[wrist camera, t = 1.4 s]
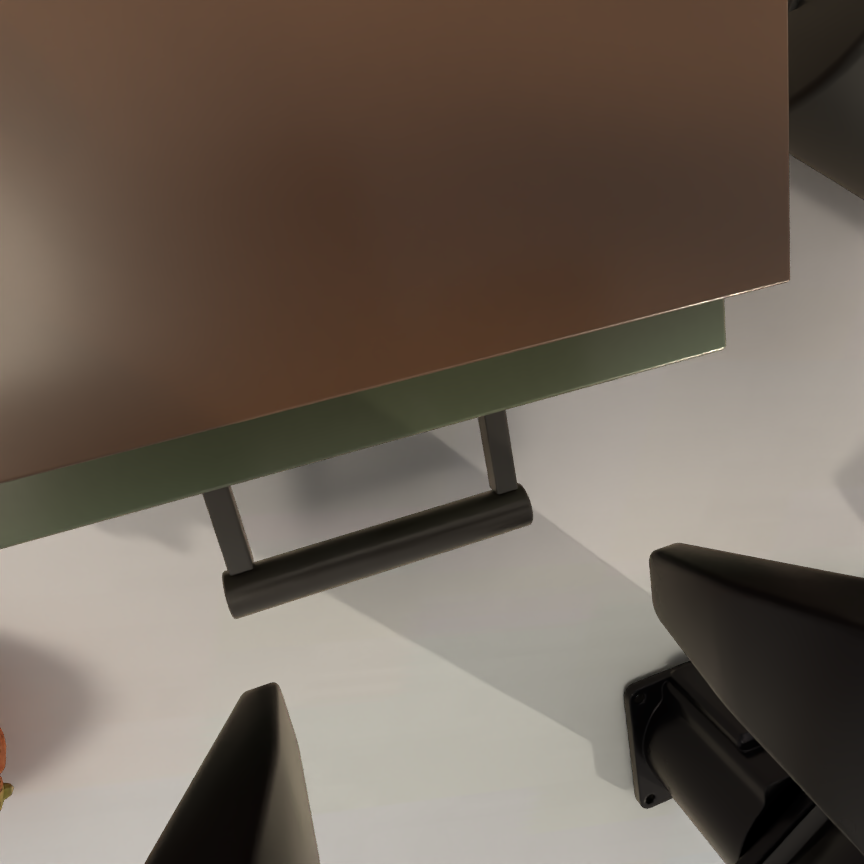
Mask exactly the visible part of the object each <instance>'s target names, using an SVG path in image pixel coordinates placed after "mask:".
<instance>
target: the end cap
mask: <svg viewBox="0 0 864 864" xmlns="http://www.w3.org/2000/svg"><path fill="white" fill-rule="evenodd" d="M788 94H789V154H790V155H792V156H794V157H795V158H797V159H798V160H800V161H802V162H803V163H805V164H807V165H808V166H810V167H811V168H813V169H815V170H816V171H818V172H820V173H821V174H823V175H824V176H826V177H828V178H829V179H831V180H832V181H834V182H836V183H837V184H839V185H841V186H842V187H844V188H845V189H847V190H849V191H850V192H852V193H854V194H855V195H857V196H858V197H860V198H862V199H863V200H864V0H788Z"/></svg>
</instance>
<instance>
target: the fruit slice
mask: <svg viewBox="0 0 864 864" xmlns="http://www.w3.org/2000/svg"><path fill="white" fill-rule="evenodd" d="M5 764H6V742H5V738H4V734H3V732H2V730H1V728H0V774H1V773H2V771H3V770H4V768H5ZM13 789H14V787H13V786H12V785H11V784H10V783H3V781H2V777H1V776H0V811H1V809H2V805H3V802H4V800H5V799H7V798H8V797H9V796H11V795H12V792H13Z"/></svg>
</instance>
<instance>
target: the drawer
mask: <svg viewBox="0 0 864 864" xmlns="http://www.w3.org/2000/svg"><path fill="white" fill-rule="evenodd" d="M725 347H726V331H725V306H724V299H720V300H716V301H712V302H708V303H704V304H700V305H696V306H692V307H688V308H684V309H681V310H677V311H673V312H669V313H665V314H661V315H657V316H653V317H649V318H645V319H642V320H638V321H634V322H630V323H626V324H622V325H618V326H614V327H610V328H606V329H602V330H599V331H595V332H591V333H587V334H583V335H579V336H575V337H571V338H567V339H563V340H559V341H556V342H552V343H548V344H544V345H540V346H536V347H532V348H528V349H524V350H520V351H517V352H513V353H509V354H505V355H501V356H497V357H493V358H489V359H485V360H481V361H477V362H474V363H470V364H466V365H462V366H458V367H454V368H450V369H446V370H442V371H438V372H434V373H431V374H427V375H423V376H419V377H415V378H411V379H407V380H403V381H399V382H395V383H392V384H388V385H384V386H380V387H376V388H372V389H368V390H364V391H360V392H356V393H352V394H349V395H345V396H341V397H337V398H333V399H329V400H325V401H321V402H317V403H313V404H310V405H306V406H302V407H298V408H294V409H290V410H286V411H282V412H278V413H274V414H270V415H267V416H263V417H259V418H255V419H251V420H247V421H243V422H239V423H235V424H231V425H227V426H224V427H220V428H216V429H212V430H208V431H204V432H200V433H196V434H192V435H188V436H185V437H181V438H177V439H173V440H169V441H165V442H161V443H157V444H153V445H149V446H145V447H142V448H138V449H134V450H130V451H126V452H122V453H118V454H114V455H110V456H106V457H102V458H99V459H95V460H91V461H87V462H83V463H79V464H75V465H71V466H67V467H63V468H60V469H56V470H52V471H48V472H44V473H40V474H36V475H32V476H28V477H24V478H20V479H17V480H13V481H9V482H5V483H1V484H0V549H3V548H7V547H10V546H14V545H17V544H21V543H25V542H28V541H32V540H36V539H39V538H43V537H46V536H50V535H54V534H57V533H61V532H65V531H68V530H72V529H75V528H79V527H83V526H86V525H90V524H94V523H97V522H101V521H104V520H108V519H112V518H115V517H119V516H122V515H126V514H130V513H133V512H137V511H141V510H144V509H148V508H151V507H155V506H159V505H162V504H166V503H170V502H173V501H177V500H180V499H184V498H188V497H191V496H195V495H199V494H203V497H204V500H205V503H206V506H207V509H208V512H209V515H210V518H211V521H212V524H213V527H214V530H215V533H216V536H217V539H218V542H219V545H220V548H221V551H222V554H223V557H224V561H225V564H226V567H227V571H224V572H223V574H222V581H223V588H224V593H225V597H226V601H227V604H228V607H229V610H230V612H231V614H232V616H233V617H234V619H238V618H241V617H244V616H247V615H250V614H253V613H257V612H260V611H263V610H266V609H269V608H272V607H275V606H278V605H282V604H285V603H288V602H291V601H294V600H297V599H300V598H303V597H307V596H310V595H313V594H316V593H319V592H322V591H325V590H328V589H331V588H335V587H338V586H341V585H344V584H347V583H350V582H353V581H356V580H360V579H363V578H366V577H369V576H372V575H375V574H378V573H381V572H384V571H388V570H391V569H394V568H397V567H400V566H403V565H406V564H409V563H413V562H416V561H419V560H422V559H425V558H428V557H431V556H434V555H438V554H441V553H444V552H447V551H450V550H453V549H456V548H459V547H462V546H466V545H469V544H472V543H475V542H478V541H481V540H484V539H487V538H491V537H494V536H497V535H500V534H503V533H506V532H509V531H512V530H515V529H519V528H522V527H525V526H528V525H530V524H531V523H532V521H533V512H532V506H531V503H530V500H529V497H528V495H527V493H526V491H525V489H524V488H523V486H522V485H521V484H519V483H517V480H516V474H515V468H514V461H513V455H512V449H511V442H510V436H509V430H508V423H507V417H506V411H505V410H506V409H510V408H514V407H517V406H521V405H525V404H528V403H532V402H535V401H539V400H543V399H546V398H550V397H553V396H557V395H561V394H564V393H568V392H572V391H575V390H579V389H582V388H586V387H590V386H593V385H597V384H601V383H604V382H608V381H611V380H615V379H619V378H622V377H626V376H630V375H633V374H637V373H640V372H644V371H648V370H651V369H655V368H659V367H662V366H666V365H669V364H673V363H677V362H680V361H684V360H687V359H691V358H695V357H698V356H702V355H706V354H709V353H713V352H716V351H720V350H723V349H725ZM477 417H478V421H479V427H480V432H481V438H482V444H483V450H484V456H485V461H486V467H487V473H488V479H489V484H490V488H491V489H492V490H490V491H487V492H484V493H480V494H477V495H474V496H471V497H467V498H464V499H461V500H457V501H454V502H451V503H448V504H444V505H441V506H438V507H434V508H431V509H428V510H424V511H421V512H418V513H415V514H411V515H408V516H405V517H401V518H398V519H395V520H392V521H388V522H385V523H382V524H378V525H375V526H372V527H368V528H365V529H362V530H359V531H355V532H352V533H349V534H345V535H342V536H339V537H336V538H332V539H329V540H326V541H322V542H319V543H316V544H312V545H309V546H306V547H303V548H299V549H296V550H293V551H289V552H286V553H283V554H280V555H276V556H273V557H270V558H266V559H263V560H260V561H257V562H254V561H253V555H252V552H251V549H250V546H249V543H248V539H247V536H246V533H245V530H244V527H243V524H242V520H241V517H240V514H239V511H238V508H237V505H236V501H235V498H234V495H233V492H232V489H231V485H235V484H238V483H242V482H246V481H249V480H253V479H256V478H260V477H264V476H267V475H271V474H275V473H278V472H282V471H285V470H289V469H293V468H296V467H300V466H304V465H307V464H311V463H314V462H318V461H322V460H325V459H329V458H333V457H336V456H340V455H343V454H347V453H351V452H354V451H358V450H362V449H365V448H369V447H372V446H376V445H380V444H383V443H387V442H391V441H394V440H398V439H401V438H405V437H409V436H412V435H416V434H419V433H423V432H427V431H430V430H434V429H438V428H441V427H445V426H448V425H452V424H456V423H459V422H463V421H467V420H470V419H474V418H477Z"/></svg>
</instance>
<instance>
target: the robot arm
mask: <svg viewBox="0 0 864 864" xmlns="http://www.w3.org/2000/svg"><path fill="white" fill-rule="evenodd" d="M649 567H650V578H651V590H652V601H653V606H654V609H655V612H656V614H657V616H658V618H659V620H660V621H661V622H662V624H663V625H664V626H665V628H666V629H667V630H668V632H669V633H670V634H671V636H672V637H673V638H674V640H675V641H676V642H677V644H678V645H679V646H680V647H681V649H682V650H683V651H684V653H685V654H686V655H687V657H688V658H689V659H690V661H688V662H686V663H683V664H681V665H678V666H676V667H673V668H671V669H668V670H666V671H663V672H661V673H658V674H655V675H653V676H650V677H648V678H645V679H643V680H640V681H638V682H635V683H633V684H631V685H630V686H629V687H628V688H627V689H626V691H625V693H624V701H625V710H626V719H627V728H628V737H629V745H630V754H631V763H632V772H633V781H634V790H635V797H636V799H637V801H638V802H639V803H640V805H641V806H642V807H643V808H647V809H648V808H651V807H654V806H656V805H658V804H660V803H663V802H665V801H667V800H669V799H672V798H673V799H674V800H675V801H676V802H677V804H678V805H679V806H680V807H681V809H682V810H683V811H684V812H685V814H686V815H687V816H688V817H689V819H690V820H691V821H692V822H693V824H694V825H695V826H696V827H697V829H698V830H699V831H700V832H701V834H702V835H703V836H704V837H705V839H706V840H707V841H708V842H709V844H710V845H711V846H712V847H713V849H714V850H715V851H716V852H717V854H718V855H719V856H720V857H721V859H722V860H723V861H724V862H725V864H864V578H861V577H856V576H850V575H845V574H840V573H835V572H830V571H824V570H819V569H814V568H809V567H803V566H798V565H793V564H788V563H782V562H777V561H772V560H767V559H762V558H756V557H751V556H746V555H741V554H735V553H730V552H725V551H720V550H714V549H709V548H704V547H699V546H693V545H688V544H683V543H675V544H672V545H669V546H666V547H663V548H660V549H657V550H655V551H653V552H652V554H651V555H650V558H649ZM637 695H638V696H637ZM636 696H637V697H636ZM145 864H320V860H319V854H318V848H317V843H316V837H315V832H314V826H313V821H312V815H311V810H310V805H309V799H308V794H307V788H306V783H305V777H304V772H303V766H302V761H301V756H300V751H299V746H298V742H297V738H296V735H295V732H294V729H293V725H292V722H291V719H290V716H289V713H288V710H287V707H286V704H285V701H284V698H283V694H282V692H281V689H280V687H279V685H278V684H277V683H274V682H272V683H269V684H266V685H263V686H260V687H257V688H254V689H251V690H248V691H246V692H244V693H243V694H242V696H241V697H240V699H239V700H238V702H237V704H236V706H235V707H234V709H233V711H232V713H231V714H230V716H229V718H228V719H227V721H226V723H225V725H224V726H223V728H222V730H221V732H220V733H219V735H218V737H217V739H216V740H215V742H214V744H213V746H212V747H211V749H210V751H209V752H208V754H207V756H206V758H205V759H204V761H203V763H202V765H201V766H200V768H199V770H198V772H197V773H196V775H195V777H194V778H193V780H192V782H191V784H190V785H189V787H188V789H187V791H186V792H185V794H184V796H183V798H182V799H181V801H180V803H179V805H178V806H177V808H176V810H175V811H174V813H173V815H172V817H171V818H170V820H169V822H168V824H167V825H166V827H165V829H164V831H163V832H162V834H161V836H160V838H159V839H158V841H157V843H156V844H155V846H154V848H153V850H152V851H151V853H150V855H149V857H148V858H147V860H146V862H145Z"/></svg>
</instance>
